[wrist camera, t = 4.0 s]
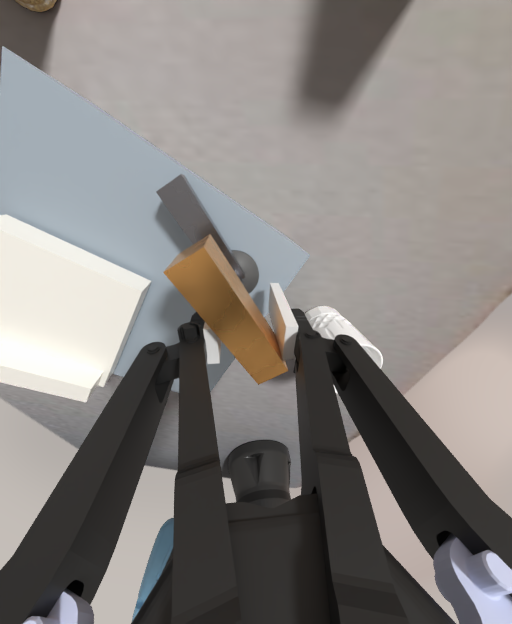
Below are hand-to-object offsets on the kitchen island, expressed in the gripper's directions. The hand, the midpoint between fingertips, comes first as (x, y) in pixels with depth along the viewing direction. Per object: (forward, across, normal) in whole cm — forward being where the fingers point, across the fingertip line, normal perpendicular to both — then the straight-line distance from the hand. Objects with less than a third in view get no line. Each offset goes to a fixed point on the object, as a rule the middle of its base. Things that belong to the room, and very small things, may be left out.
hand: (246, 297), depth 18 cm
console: (+10, -9, -1) cm, 13 cm away
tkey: (+1, -2, +3) cm, 4 cm away
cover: (+2, -16, -1) cm, 16 cm away
